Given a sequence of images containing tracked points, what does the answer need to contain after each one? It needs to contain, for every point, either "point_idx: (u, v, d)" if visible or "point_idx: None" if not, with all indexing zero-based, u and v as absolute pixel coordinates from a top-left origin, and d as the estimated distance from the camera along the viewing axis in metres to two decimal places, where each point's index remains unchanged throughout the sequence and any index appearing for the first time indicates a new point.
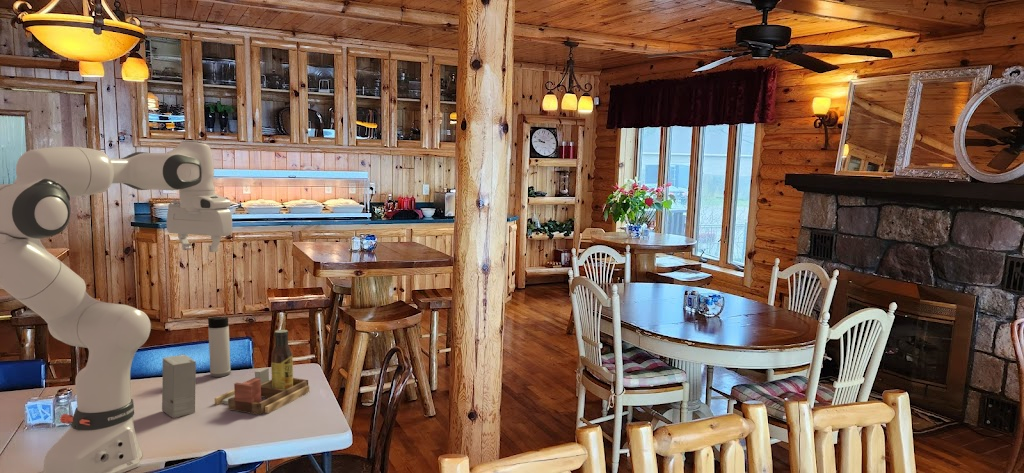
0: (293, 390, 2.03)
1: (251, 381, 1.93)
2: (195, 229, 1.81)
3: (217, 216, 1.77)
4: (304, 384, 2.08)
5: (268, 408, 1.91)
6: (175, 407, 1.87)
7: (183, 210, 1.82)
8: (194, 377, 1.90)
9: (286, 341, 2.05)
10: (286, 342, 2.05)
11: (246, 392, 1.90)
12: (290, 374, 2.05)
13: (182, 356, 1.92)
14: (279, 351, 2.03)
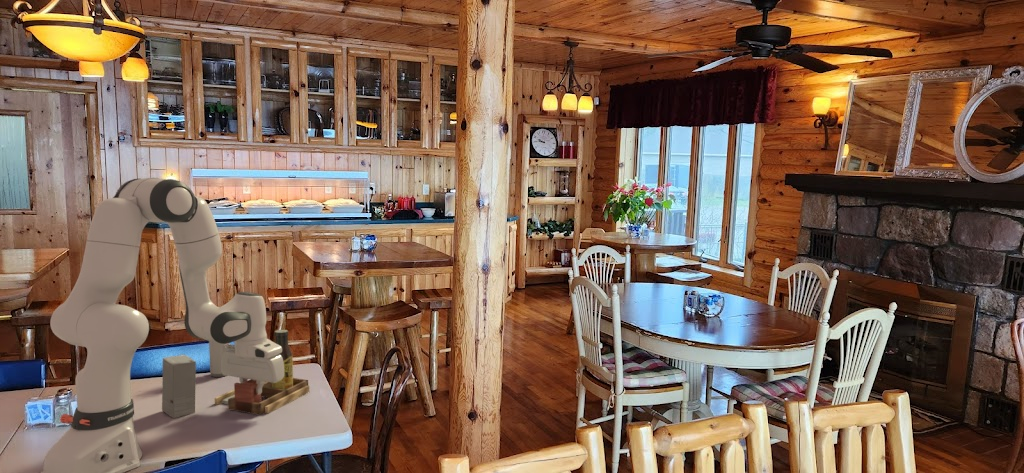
0: (293, 390, 2.03)
1: (251, 381, 1.93)
2: (249, 374, 1.92)
3: (271, 365, 1.88)
4: (304, 384, 2.08)
5: (268, 408, 1.91)
6: (175, 407, 1.87)
7: (237, 356, 1.93)
8: (194, 377, 1.90)
9: (286, 341, 2.05)
10: (286, 342, 2.05)
11: (246, 392, 1.90)
12: (290, 374, 2.05)
13: (182, 356, 1.92)
14: None
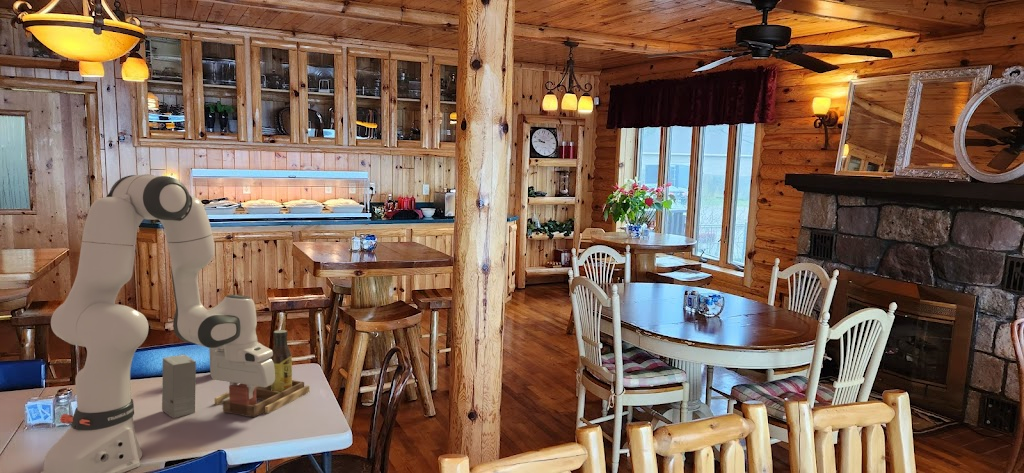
0: (289, 392, 2.01)
1: None
2: (239, 378, 1.88)
3: (261, 369, 1.84)
4: (300, 386, 2.06)
5: (268, 408, 1.91)
6: (175, 407, 1.87)
7: (227, 360, 1.89)
8: (194, 377, 1.90)
9: (285, 341, 2.05)
10: (285, 342, 2.05)
11: (241, 394, 1.88)
12: (289, 374, 2.05)
13: (182, 356, 1.92)
14: (278, 352, 2.03)
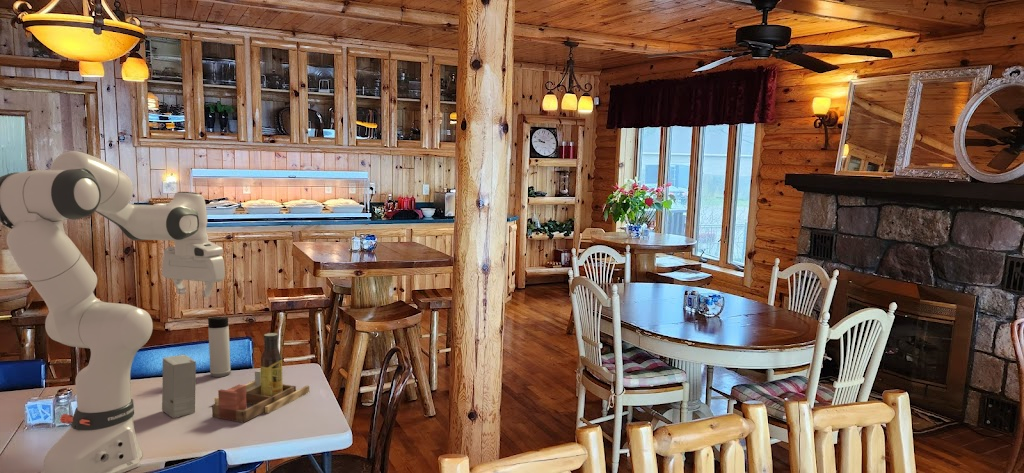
0: (280, 397, 1.98)
1: (236, 388, 1.88)
2: (190, 275, 1.90)
3: (210, 264, 1.87)
4: (291, 390, 2.03)
5: (268, 408, 1.91)
6: (175, 407, 1.87)
7: (178, 257, 1.91)
8: (194, 377, 1.90)
9: (275, 345, 2.01)
10: (275, 346, 2.01)
11: (230, 399, 1.84)
12: (278, 379, 2.01)
13: (182, 356, 1.92)
14: (267, 355, 1.99)
